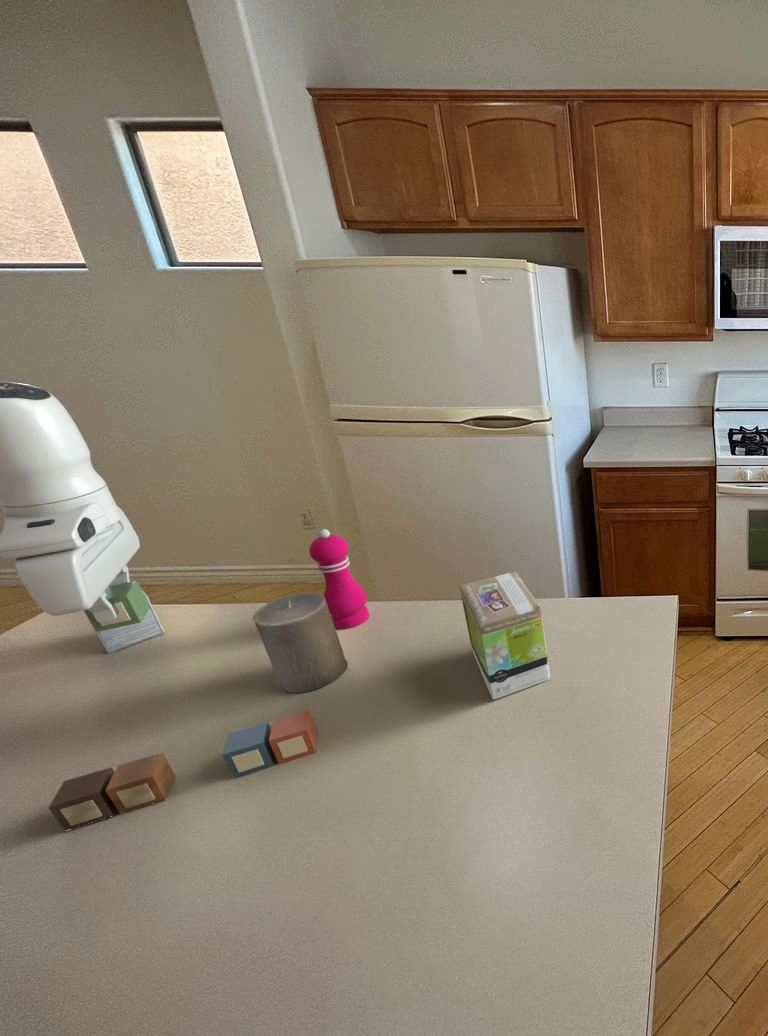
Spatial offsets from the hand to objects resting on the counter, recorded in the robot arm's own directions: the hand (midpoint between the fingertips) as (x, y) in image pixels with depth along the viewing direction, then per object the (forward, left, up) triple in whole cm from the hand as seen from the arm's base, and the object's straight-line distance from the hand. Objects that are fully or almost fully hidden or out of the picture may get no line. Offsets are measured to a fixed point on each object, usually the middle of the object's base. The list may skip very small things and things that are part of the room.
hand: (117, 608), depth 75 cm
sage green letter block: (0, 0, -2) cm, 2 cm away
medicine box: (-13, +33, -22) cm, 42 cm away
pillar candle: (+17, +5, -22) cm, 28 cm away
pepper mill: (+22, +21, -22) cm, 37 cm away
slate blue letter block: (+11, -13, -22) cm, 28 cm away
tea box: (+47, -9, -22) cm, 52 cm away
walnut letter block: (-5, -13, -22) cm, 26 cm away
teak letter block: (0, -13, -22) cm, 25 cm away
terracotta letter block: (+16, -13, -22) cm, 30 cm away
